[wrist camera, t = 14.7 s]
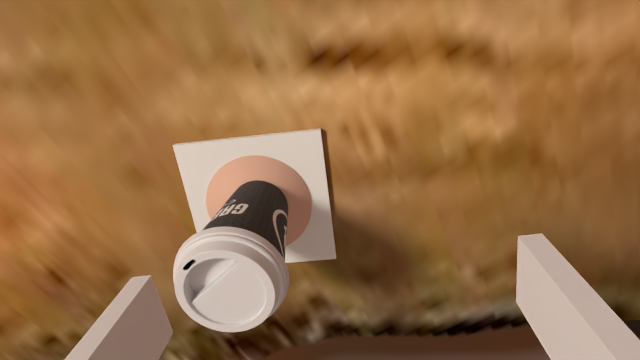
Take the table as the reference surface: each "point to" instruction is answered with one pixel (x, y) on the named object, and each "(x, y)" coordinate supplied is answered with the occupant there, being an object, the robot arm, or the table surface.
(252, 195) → the coffee cup
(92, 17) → the table surface
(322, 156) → the coaster mat
